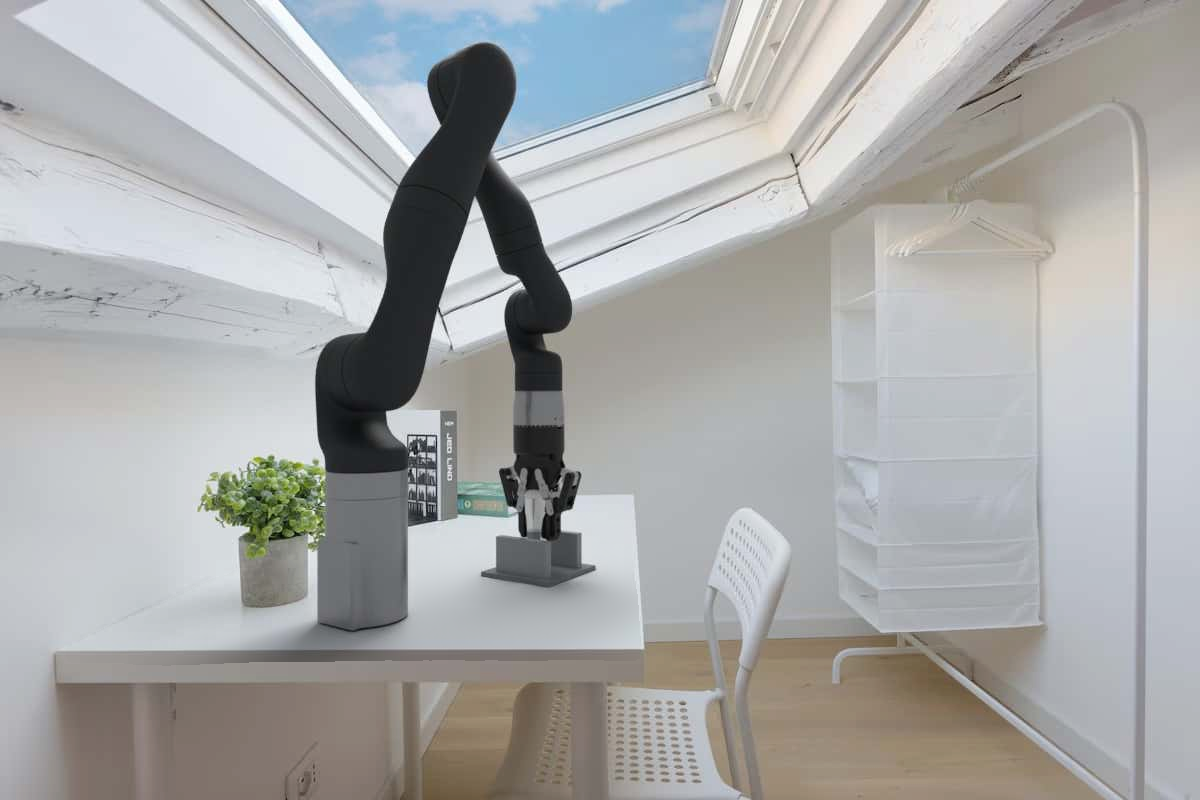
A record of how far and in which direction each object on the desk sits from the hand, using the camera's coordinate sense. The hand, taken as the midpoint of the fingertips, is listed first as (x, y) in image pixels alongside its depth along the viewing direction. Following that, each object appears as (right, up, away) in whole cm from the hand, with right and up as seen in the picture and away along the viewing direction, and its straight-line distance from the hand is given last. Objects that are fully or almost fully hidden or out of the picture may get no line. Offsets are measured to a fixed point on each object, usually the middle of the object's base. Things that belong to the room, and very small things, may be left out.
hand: (539, 537), depth 105 cm
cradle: (0, -5, 0) cm, 5 cm away
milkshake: (0, -2, 0) cm, 2 cm away
